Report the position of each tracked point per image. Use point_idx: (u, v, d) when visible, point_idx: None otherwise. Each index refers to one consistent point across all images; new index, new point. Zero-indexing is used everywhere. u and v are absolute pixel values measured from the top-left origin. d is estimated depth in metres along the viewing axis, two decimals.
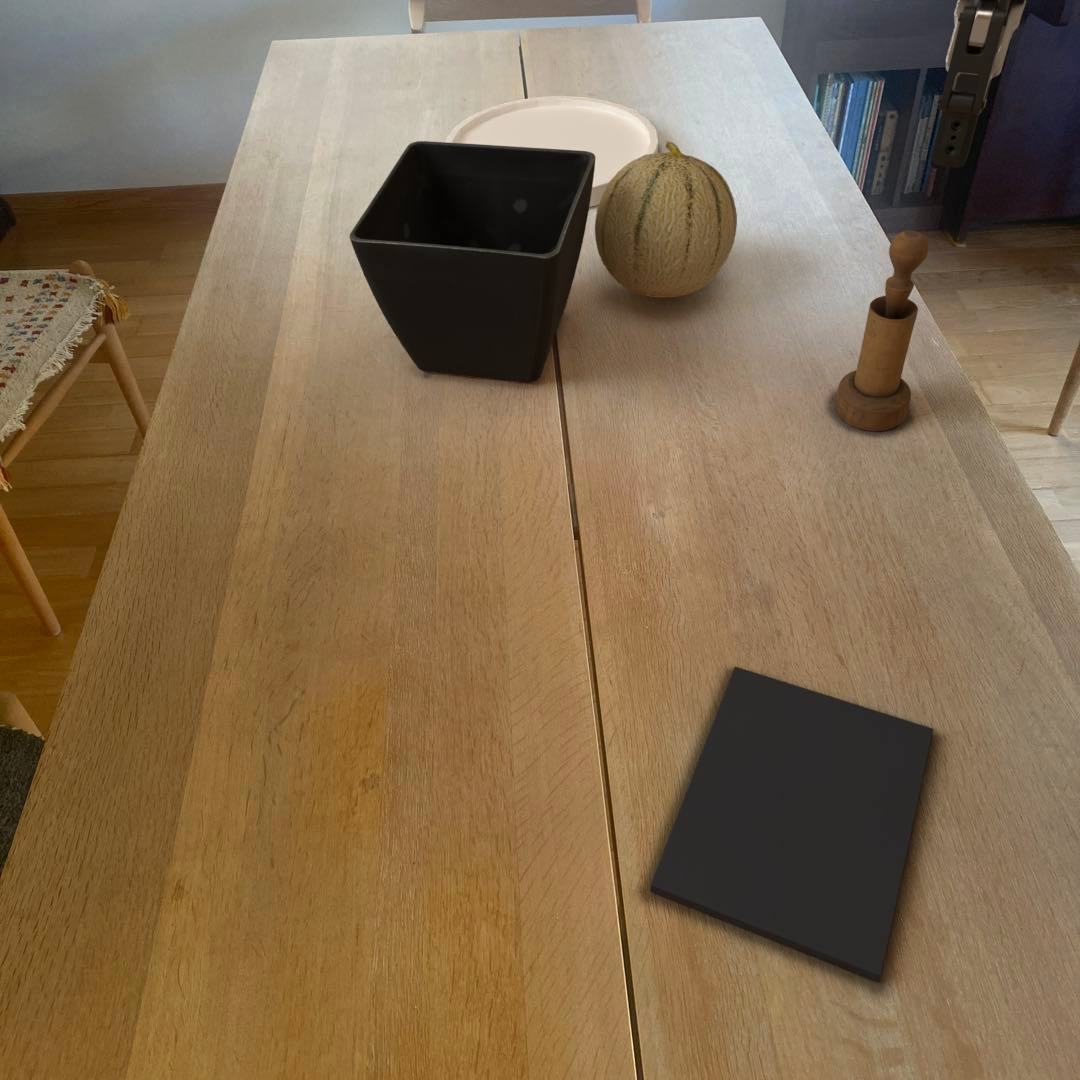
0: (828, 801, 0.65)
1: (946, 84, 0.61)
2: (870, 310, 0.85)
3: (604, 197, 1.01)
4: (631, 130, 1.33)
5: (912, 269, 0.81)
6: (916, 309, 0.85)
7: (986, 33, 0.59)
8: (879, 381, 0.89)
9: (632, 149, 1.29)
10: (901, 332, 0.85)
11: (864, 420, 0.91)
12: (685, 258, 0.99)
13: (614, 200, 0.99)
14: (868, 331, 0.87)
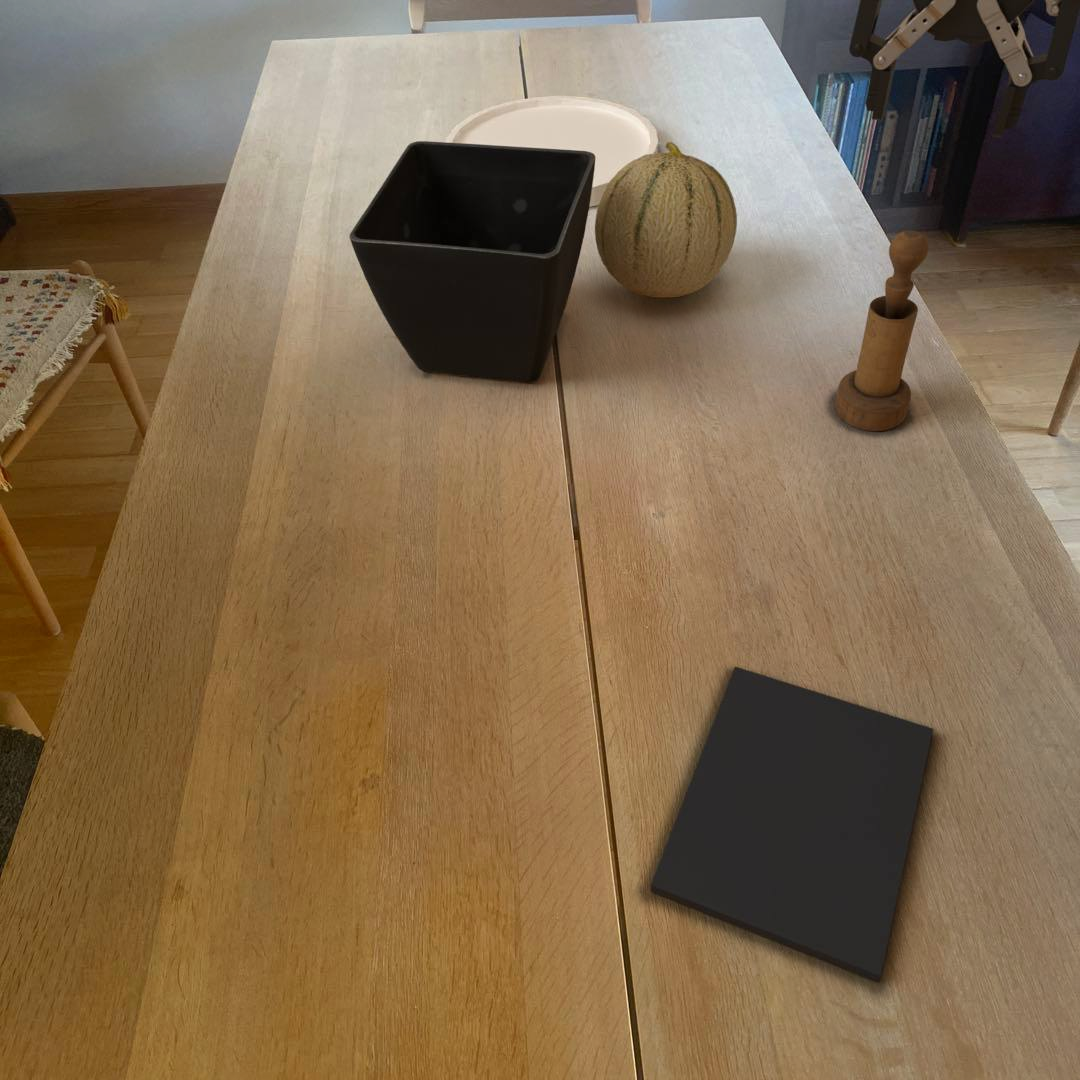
0: (828, 801, 0.65)
1: None
2: (870, 310, 0.85)
3: (604, 197, 1.01)
4: (631, 130, 1.33)
5: (912, 269, 0.81)
6: (916, 309, 0.85)
7: None
8: (879, 381, 0.89)
9: (632, 149, 1.29)
10: (900, 332, 0.85)
11: (864, 420, 0.91)
12: (685, 258, 0.99)
13: (614, 200, 0.99)
14: (868, 331, 0.87)
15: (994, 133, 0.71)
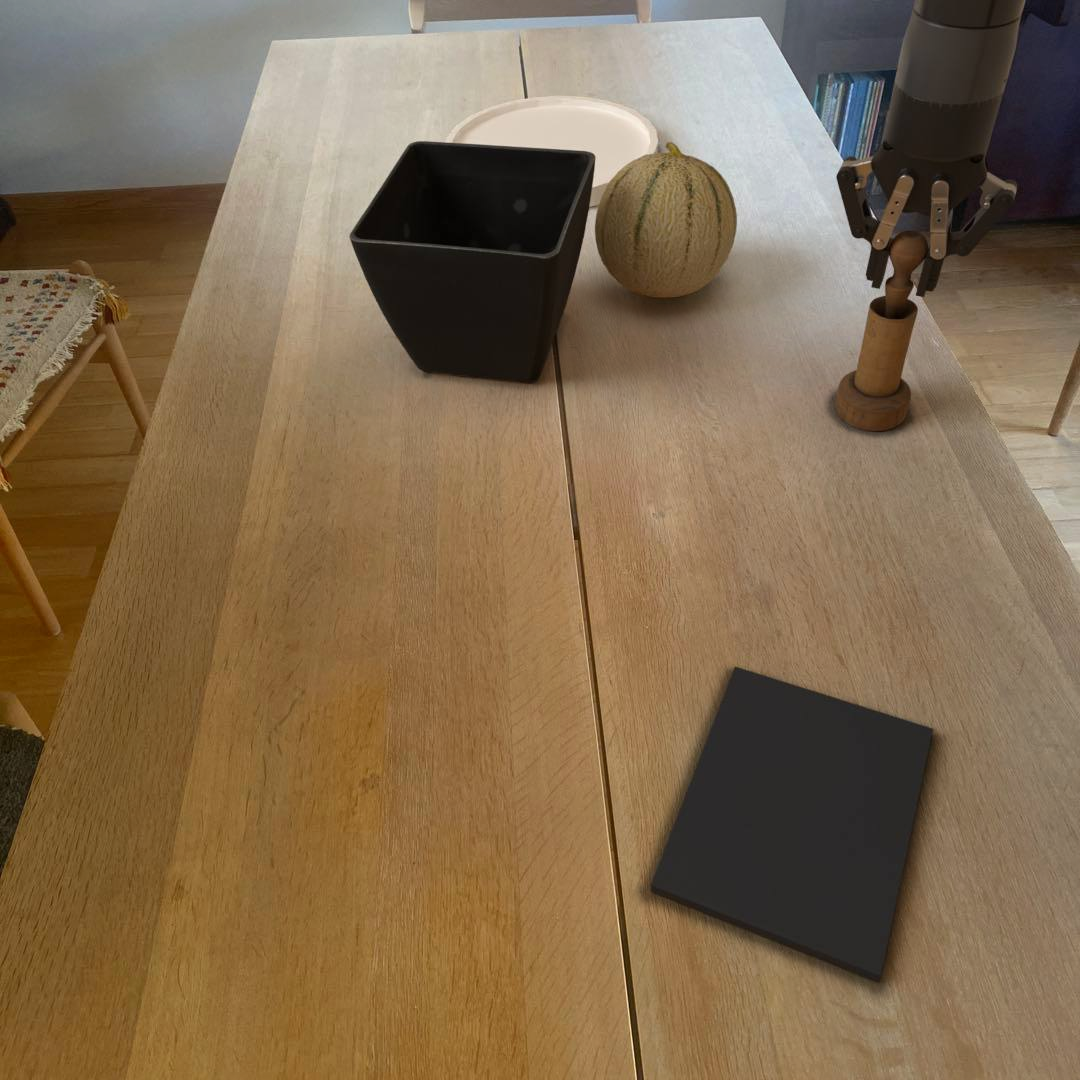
0: (828, 801, 0.65)
1: None
2: (870, 310, 0.85)
3: (604, 197, 1.01)
4: (631, 130, 1.33)
5: (912, 269, 0.81)
6: (916, 309, 0.85)
7: None
8: (879, 381, 0.89)
9: (632, 149, 1.29)
10: (900, 332, 0.85)
11: (864, 420, 0.91)
12: (685, 258, 0.99)
13: (614, 200, 0.99)
14: (867, 331, 0.87)
15: (917, 294, 0.82)
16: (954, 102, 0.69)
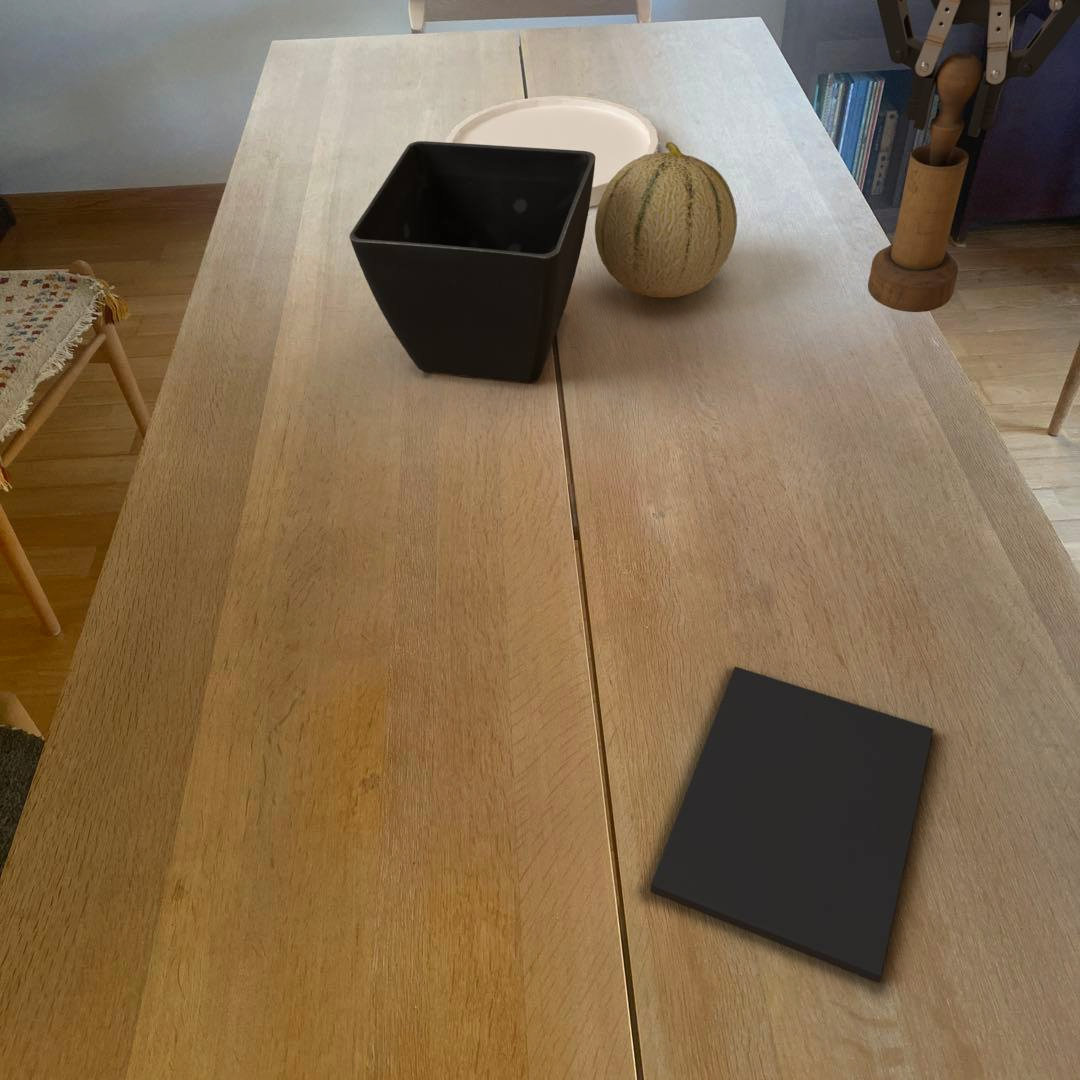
0: (828, 801, 0.65)
1: None
2: (911, 159, 0.72)
3: (604, 197, 1.01)
4: (631, 130, 1.33)
5: (964, 100, 0.68)
6: (966, 156, 0.71)
7: None
8: (921, 249, 0.75)
9: (632, 149, 1.29)
10: (948, 184, 0.71)
11: (903, 298, 0.77)
12: (685, 258, 0.99)
13: (614, 200, 0.99)
14: (908, 186, 0.73)
15: (969, 133, 0.69)
16: None
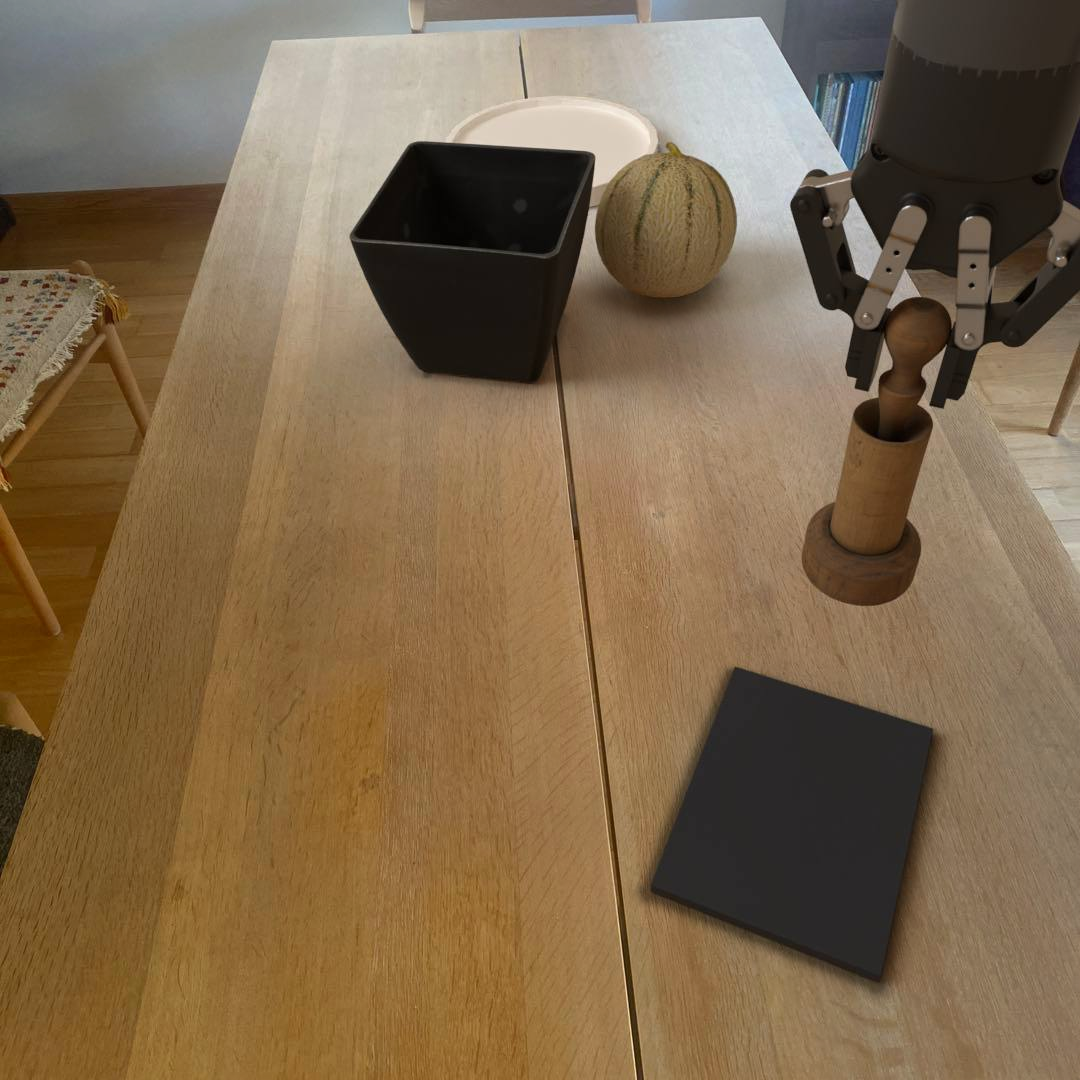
0: (828, 801, 0.65)
1: None
2: (853, 423, 0.51)
3: (604, 197, 1.01)
4: (631, 130, 1.33)
5: (924, 362, 0.47)
6: (930, 424, 0.51)
7: None
8: (869, 533, 0.55)
9: (632, 149, 1.29)
10: (904, 462, 0.51)
11: (845, 590, 0.56)
12: (685, 258, 0.99)
13: (614, 200, 0.99)
14: (850, 455, 0.53)
15: (932, 404, 0.48)
16: (1007, 67, 0.35)
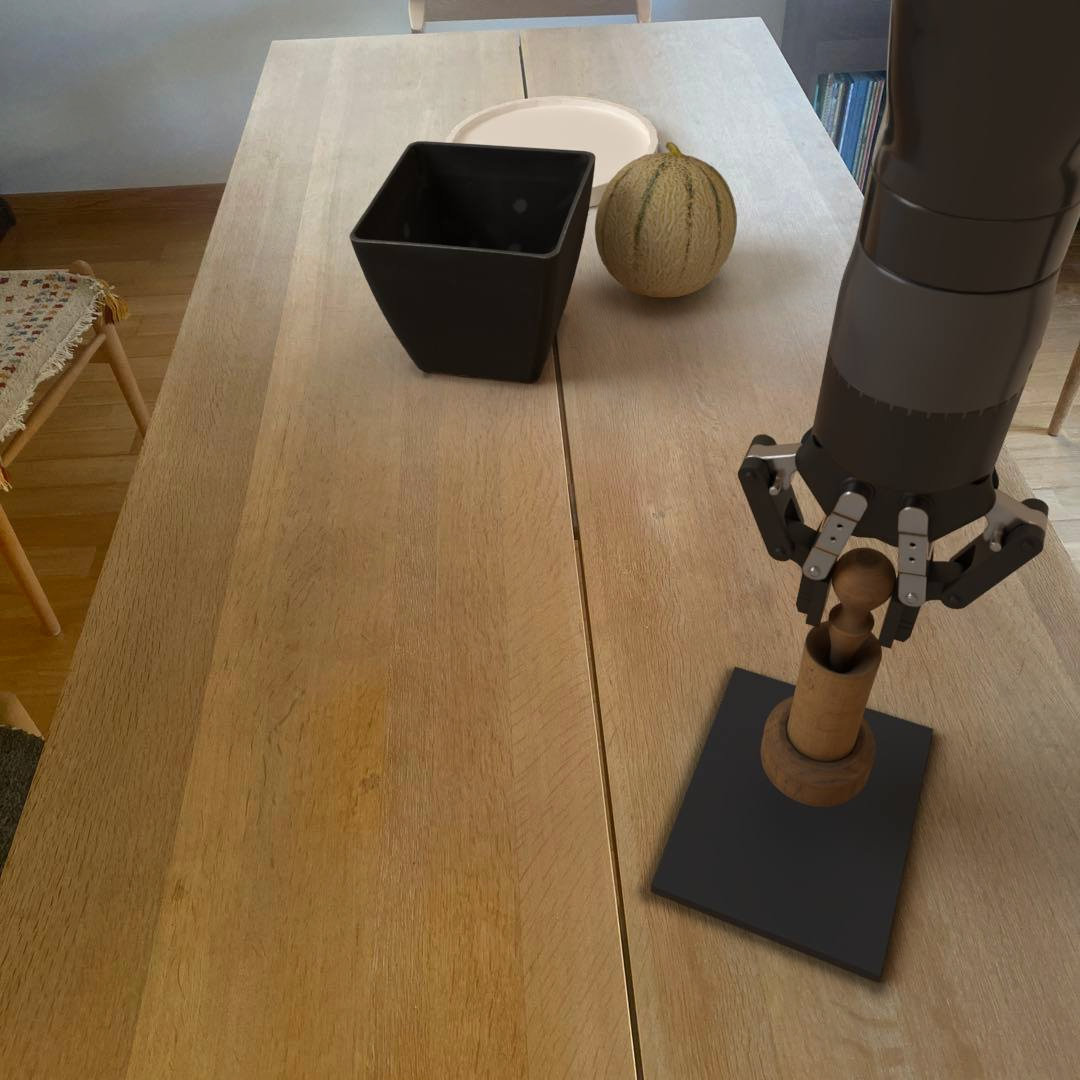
0: None
1: None
2: (805, 651, 0.53)
3: (604, 197, 1.01)
4: (631, 130, 1.33)
5: (871, 610, 0.49)
6: (879, 652, 0.52)
7: None
8: (823, 744, 0.56)
9: (632, 149, 1.29)
10: (854, 690, 0.52)
11: (802, 793, 0.58)
12: (685, 258, 0.99)
13: (614, 200, 0.99)
14: (803, 677, 0.54)
15: (879, 644, 0.50)
16: (935, 410, 0.36)
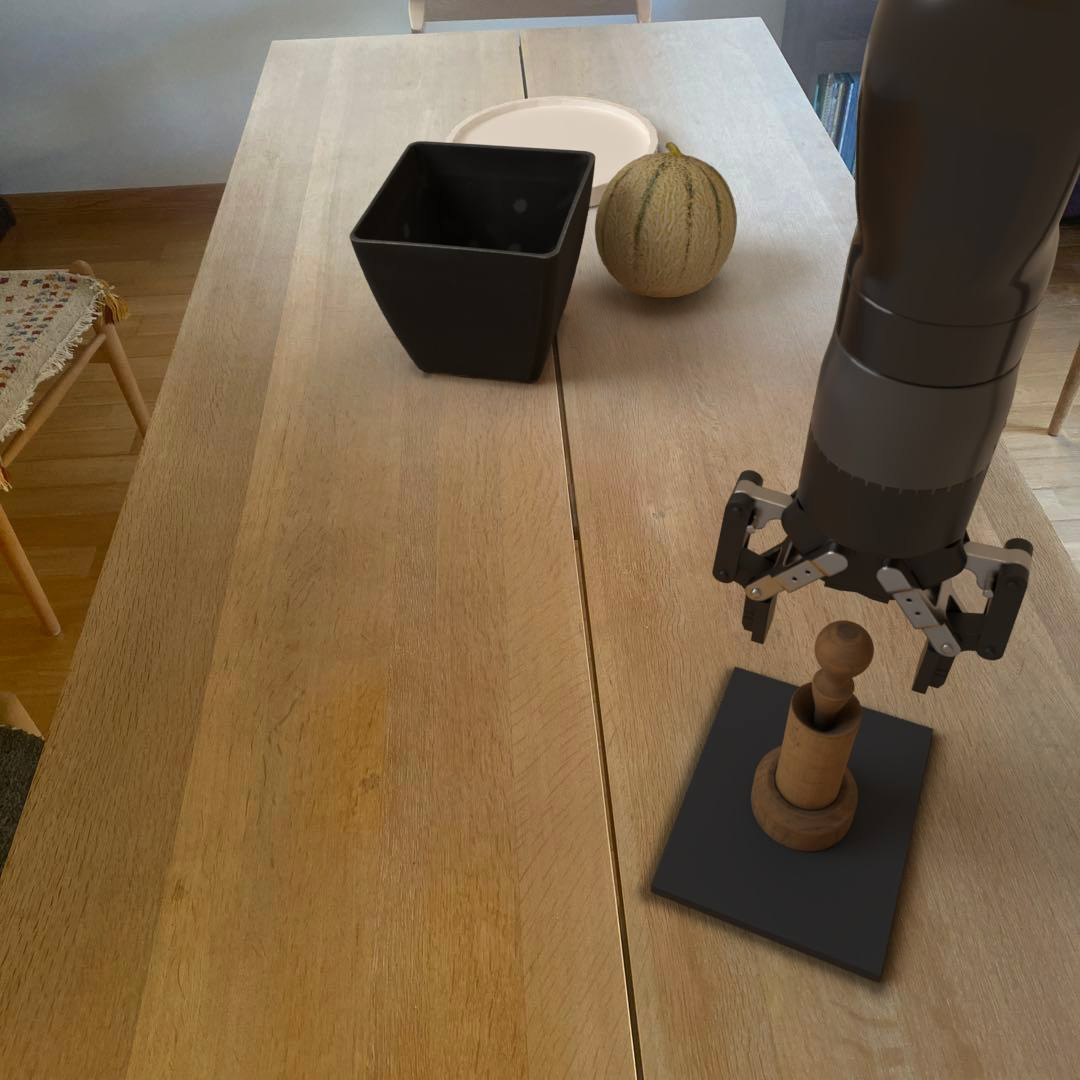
0: None
1: None
2: (791, 711, 0.57)
3: (604, 197, 1.01)
4: (631, 130, 1.33)
5: (850, 678, 0.53)
6: (860, 713, 0.56)
7: None
8: (809, 794, 0.60)
9: (632, 149, 1.29)
10: (836, 748, 0.56)
11: (789, 839, 0.62)
12: (685, 258, 0.99)
13: (614, 200, 0.99)
14: (789, 734, 0.58)
15: (914, 690, 0.52)
16: (906, 487, 0.40)
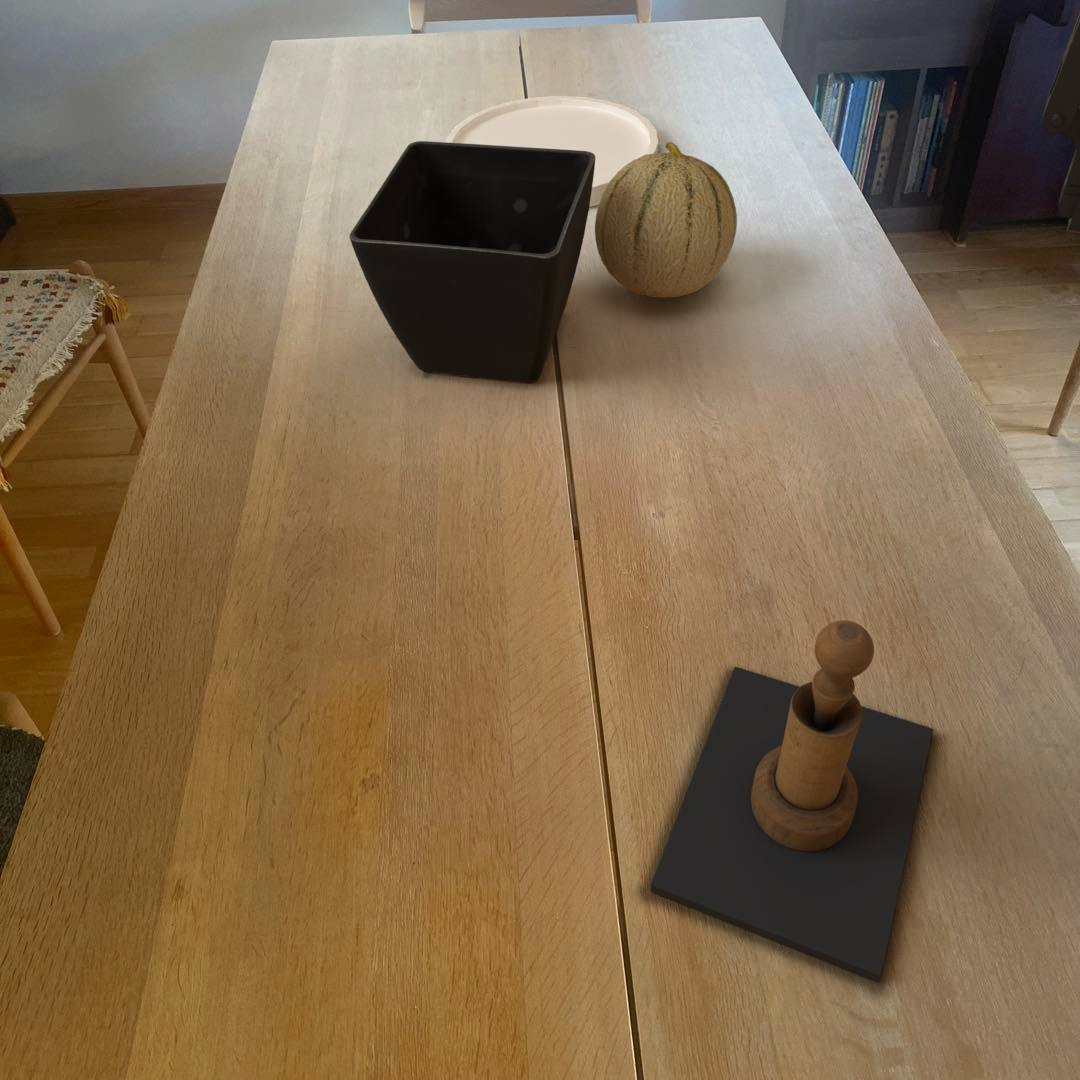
0: None
1: None
2: (791, 711, 0.57)
3: (604, 197, 1.01)
4: (631, 130, 1.33)
5: (850, 678, 0.53)
6: (860, 713, 0.56)
7: None
8: (809, 794, 0.60)
9: (632, 149, 1.29)
10: (836, 748, 0.56)
11: (789, 839, 0.62)
12: (685, 258, 0.99)
13: (614, 200, 0.99)
14: (789, 734, 0.58)
15: None
16: None
